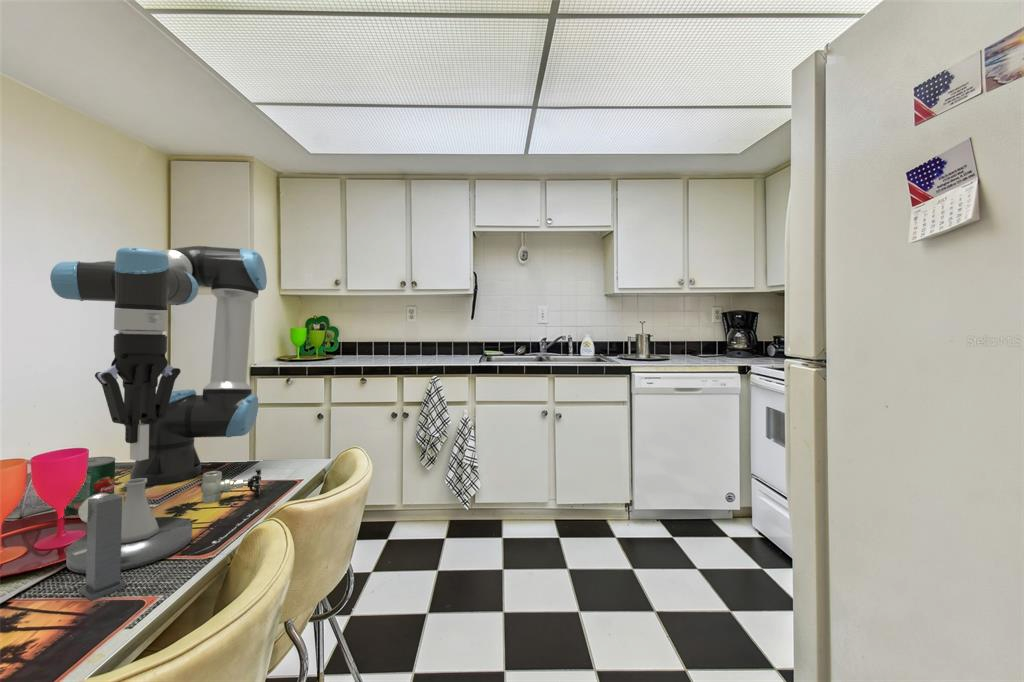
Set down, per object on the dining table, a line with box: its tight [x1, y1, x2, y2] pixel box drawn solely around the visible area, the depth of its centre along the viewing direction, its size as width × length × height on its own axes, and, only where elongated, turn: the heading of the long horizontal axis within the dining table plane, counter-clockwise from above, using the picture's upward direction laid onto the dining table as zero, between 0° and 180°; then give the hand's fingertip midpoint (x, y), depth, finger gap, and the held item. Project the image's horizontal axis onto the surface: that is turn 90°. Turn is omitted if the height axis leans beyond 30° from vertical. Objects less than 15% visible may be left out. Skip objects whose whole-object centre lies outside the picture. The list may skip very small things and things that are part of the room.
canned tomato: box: [65, 456, 116, 519], centre depth 94 cm, size 8×8×11 cm
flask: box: [121, 478, 159, 543], centre depth 78 cm, size 7×7×10 cm
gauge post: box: [78, 493, 127, 601], centre depth 66 cm, size 4×5×14 cm
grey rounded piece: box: [65, 492, 193, 574], centre depth 78 cm, size 17×17×8 cm
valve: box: [200, 468, 262, 504], centre depth 104 cm, size 7×7×12 cm
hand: (139, 458), depth 81 cm, fingers closed
